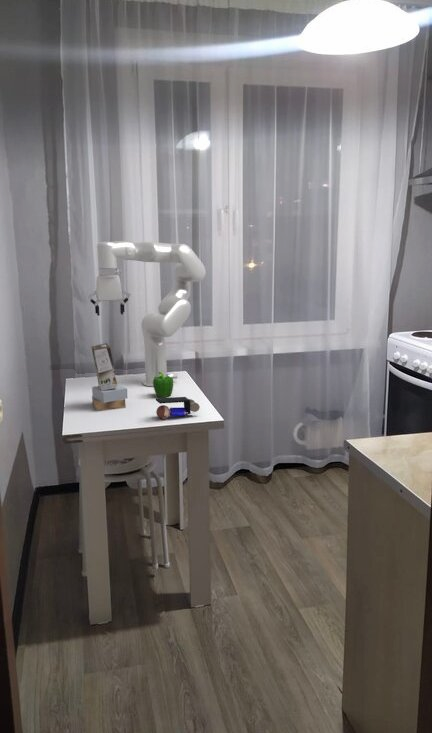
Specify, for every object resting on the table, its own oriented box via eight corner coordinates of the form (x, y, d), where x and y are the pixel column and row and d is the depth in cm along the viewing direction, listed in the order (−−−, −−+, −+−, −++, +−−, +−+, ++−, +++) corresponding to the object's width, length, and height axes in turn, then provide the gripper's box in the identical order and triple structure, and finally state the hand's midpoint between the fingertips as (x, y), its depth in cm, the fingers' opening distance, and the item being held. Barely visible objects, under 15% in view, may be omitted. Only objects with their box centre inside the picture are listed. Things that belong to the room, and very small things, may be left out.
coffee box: (118, 387, 221) (110, 347, 217) (101, 391, 219) (93, 350, 215) (114, 381, 230) (107, 342, 225) (98, 385, 228) (90, 345, 223)
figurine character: (192, 415, 217) (153, 416, 211) (194, 395, 216) (155, 395, 210) (198, 420, 211) (158, 421, 205) (200, 400, 210) (160, 400, 204)
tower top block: (115, 392, 232) (115, 383, 231) (127, 398, 224) (127, 388, 223) (92, 397, 226) (92, 387, 225) (103, 402, 218) (103, 392, 217)
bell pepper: (175, 397, 237) (175, 373, 235) (156, 399, 234) (155, 375, 232) (171, 392, 245) (170, 369, 243) (152, 394, 242) (151, 371, 240)
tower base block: (120, 402, 233) (119, 392, 233) (125, 409, 223) (125, 399, 222) (92, 405, 230) (92, 395, 229) (97, 412, 220) (96, 402, 219)
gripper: (127, 271, 241) (129, 312, 245) (85, 273, 236) (88, 314, 240) (130, 272, 234) (132, 314, 237) (86, 273, 229) (89, 316, 233)
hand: (110, 314), depth 239 cm, fingers open, 9 cm apart
